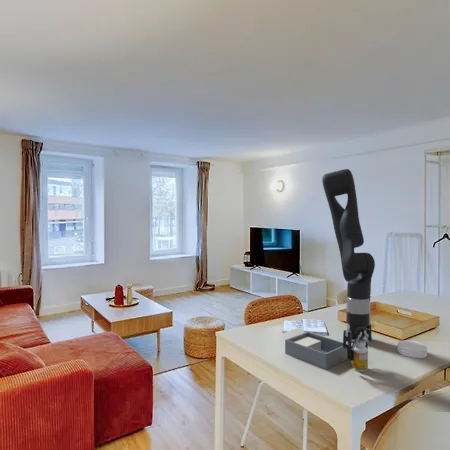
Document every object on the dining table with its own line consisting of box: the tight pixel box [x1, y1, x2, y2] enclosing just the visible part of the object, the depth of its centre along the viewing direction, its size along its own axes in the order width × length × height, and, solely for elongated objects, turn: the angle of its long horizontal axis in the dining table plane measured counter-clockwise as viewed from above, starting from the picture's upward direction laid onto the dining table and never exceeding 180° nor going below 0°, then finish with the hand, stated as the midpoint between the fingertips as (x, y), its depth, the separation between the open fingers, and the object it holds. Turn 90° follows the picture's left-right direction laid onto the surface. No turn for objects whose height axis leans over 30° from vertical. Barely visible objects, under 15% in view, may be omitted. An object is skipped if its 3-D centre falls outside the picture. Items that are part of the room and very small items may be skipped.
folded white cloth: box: [282, 318, 329, 336], centre depth 163 cm, size 19×20×2 cm
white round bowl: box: [397, 339, 428, 359], centre depth 132 cm, size 10×10×4 cm
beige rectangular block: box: [293, 337, 321, 351], centre depth 132 cm, size 10×7×4 cm, turn 129°
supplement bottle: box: [350, 340, 369, 373], centre depth 119 cm, size 5×5×10 cm
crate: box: [284, 332, 348, 370], centre depth 128 cm, size 14×18×6 cm
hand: (357, 356), depth 119 cm, fingers open, 8 cm apart
